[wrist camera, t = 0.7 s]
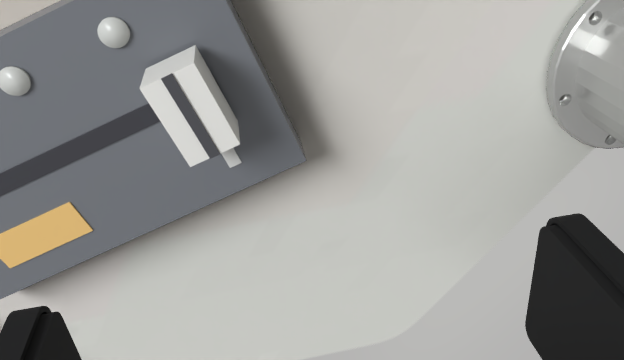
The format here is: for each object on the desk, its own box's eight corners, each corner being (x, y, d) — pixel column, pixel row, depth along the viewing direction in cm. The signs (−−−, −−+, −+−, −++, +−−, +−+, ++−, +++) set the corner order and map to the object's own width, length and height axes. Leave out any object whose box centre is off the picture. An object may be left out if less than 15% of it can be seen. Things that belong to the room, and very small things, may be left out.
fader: (195, 44, 29) (193, 63, 27) (238, 121, 32) (240, 145, 29) (145, 68, 30) (139, 89, 27) (192, 142, 32) (190, 168, 30)
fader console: (197, -68, 30) (195, -60, 27) (299, 139, 37) (306, 162, 34) (-176, 117, 32) (-213, 142, 29) (-9, 280, 39) (-25, 312, 36)
